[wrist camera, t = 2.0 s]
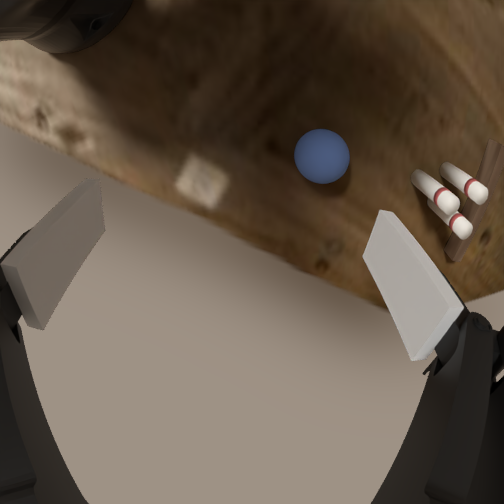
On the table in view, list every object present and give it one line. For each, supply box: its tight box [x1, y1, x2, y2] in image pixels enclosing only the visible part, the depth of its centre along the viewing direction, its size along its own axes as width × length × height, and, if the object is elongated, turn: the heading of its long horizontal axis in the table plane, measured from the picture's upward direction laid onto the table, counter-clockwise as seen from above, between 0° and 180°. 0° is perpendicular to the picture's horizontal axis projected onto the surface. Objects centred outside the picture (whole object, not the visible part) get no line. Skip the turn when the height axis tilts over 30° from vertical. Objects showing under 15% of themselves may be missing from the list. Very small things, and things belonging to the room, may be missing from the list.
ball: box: [294, 129, 350, 184], centre depth 30 cm, size 6×6×6 cm
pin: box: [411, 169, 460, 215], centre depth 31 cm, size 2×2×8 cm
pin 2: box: [427, 198, 473, 239], centre depth 33 cm, size 2×2×8 cm
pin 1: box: [439, 162, 488, 205], centre depth 30 cm, size 2×2×8 cm
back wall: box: [444, 139, 504, 262], centre depth 34 cm, size 2×20×3 cm, turn 170°
